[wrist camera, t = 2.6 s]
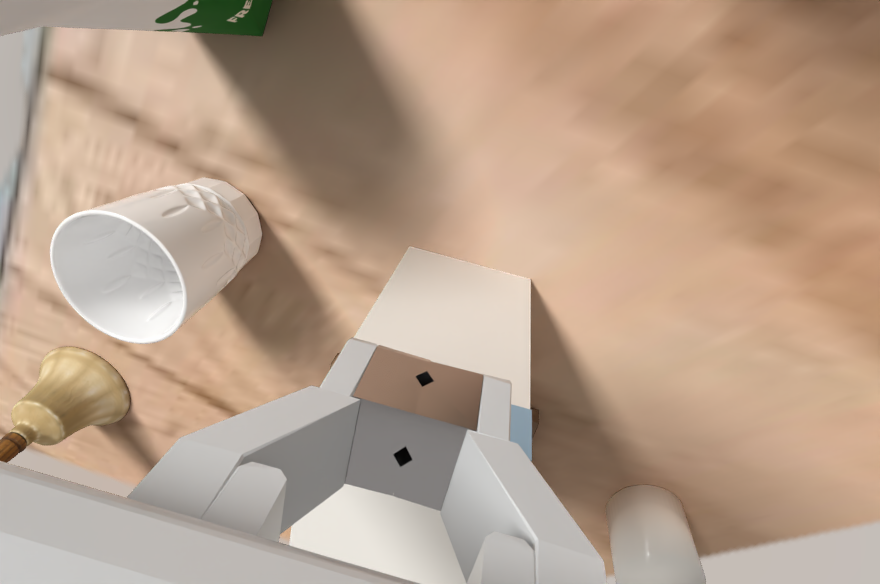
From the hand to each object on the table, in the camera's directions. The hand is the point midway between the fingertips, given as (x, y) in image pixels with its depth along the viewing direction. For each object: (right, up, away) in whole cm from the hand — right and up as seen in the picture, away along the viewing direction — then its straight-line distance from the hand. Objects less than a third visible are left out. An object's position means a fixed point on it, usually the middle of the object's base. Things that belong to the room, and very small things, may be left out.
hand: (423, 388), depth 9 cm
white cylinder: (+17, -16, +32) cm, 40 cm away
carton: (+1, 0, +27) cm, 27 cm away
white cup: (-15, +7, +27) cm, 32 cm away
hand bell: (-31, -6, +36) cm, 48 cm away
